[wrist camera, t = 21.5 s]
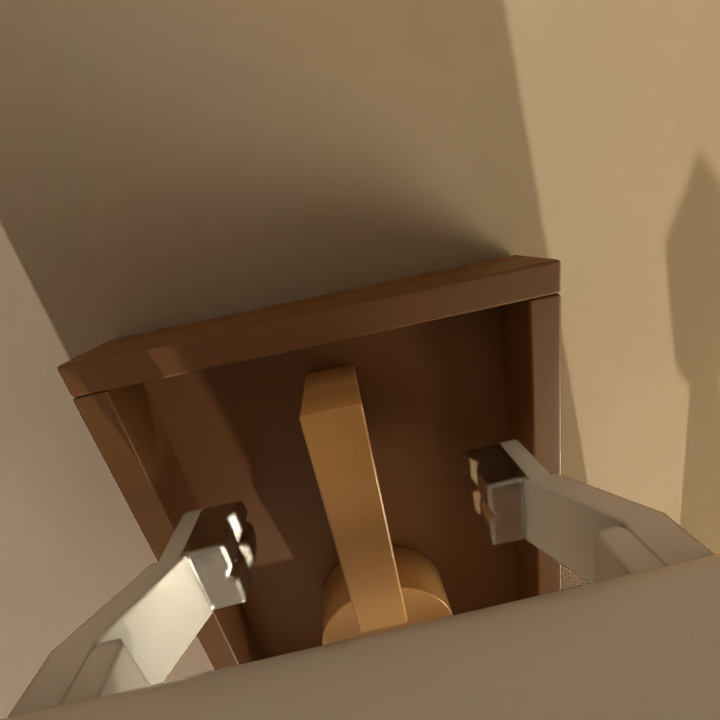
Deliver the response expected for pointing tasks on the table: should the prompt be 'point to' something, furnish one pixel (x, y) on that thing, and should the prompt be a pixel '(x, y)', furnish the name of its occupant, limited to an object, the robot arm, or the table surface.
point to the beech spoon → (360, 521)
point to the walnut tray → (384, 422)
